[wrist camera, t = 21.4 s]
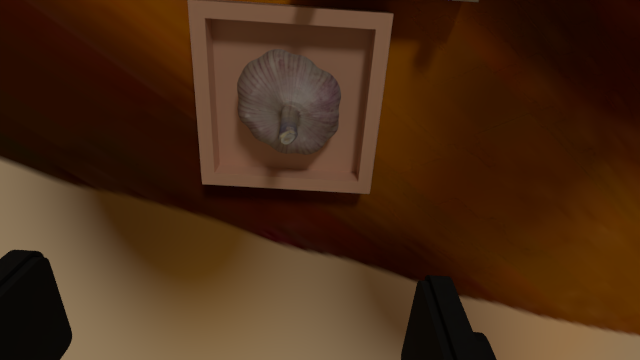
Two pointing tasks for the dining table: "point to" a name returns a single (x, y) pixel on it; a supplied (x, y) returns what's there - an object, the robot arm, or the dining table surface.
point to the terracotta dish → (300, 39)
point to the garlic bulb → (288, 102)
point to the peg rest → (468, 0)
